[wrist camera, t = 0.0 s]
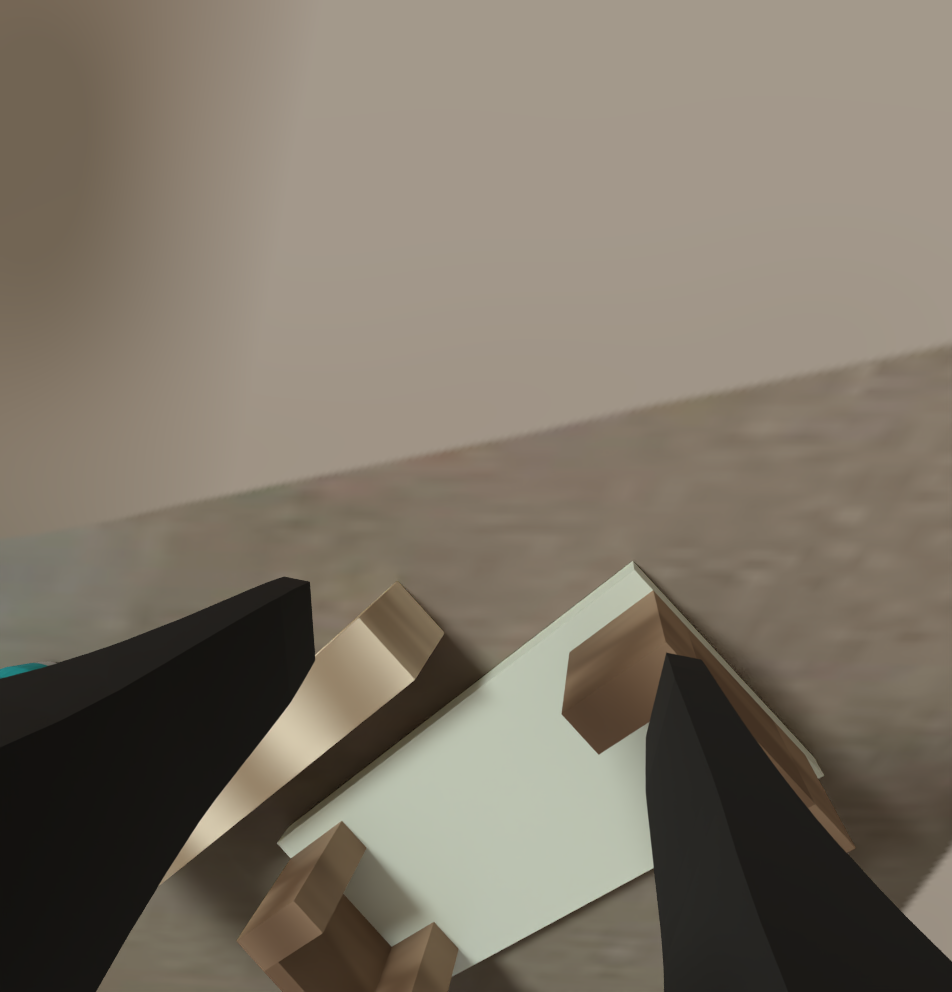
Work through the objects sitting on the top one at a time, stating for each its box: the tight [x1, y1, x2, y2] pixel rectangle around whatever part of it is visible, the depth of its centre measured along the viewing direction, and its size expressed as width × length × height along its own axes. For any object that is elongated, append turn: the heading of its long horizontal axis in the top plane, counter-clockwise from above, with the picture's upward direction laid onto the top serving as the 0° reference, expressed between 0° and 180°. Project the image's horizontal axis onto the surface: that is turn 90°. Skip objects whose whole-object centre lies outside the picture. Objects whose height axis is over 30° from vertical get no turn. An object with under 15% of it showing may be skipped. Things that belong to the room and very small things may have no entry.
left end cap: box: [236, 821, 459, 992], centre depth 23 cm, size 4×8×4 cm, turn 44°
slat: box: [159, 581, 444, 885], centre depth 24 cm, size 18×3×4 cm, turn 133°
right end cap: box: [561, 591, 856, 853], centre depth 18 cm, size 4×8×4 cm, turn 44°
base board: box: [277, 561, 824, 976], centre depth 23 cm, size 22×10×1 cm, turn 134°
